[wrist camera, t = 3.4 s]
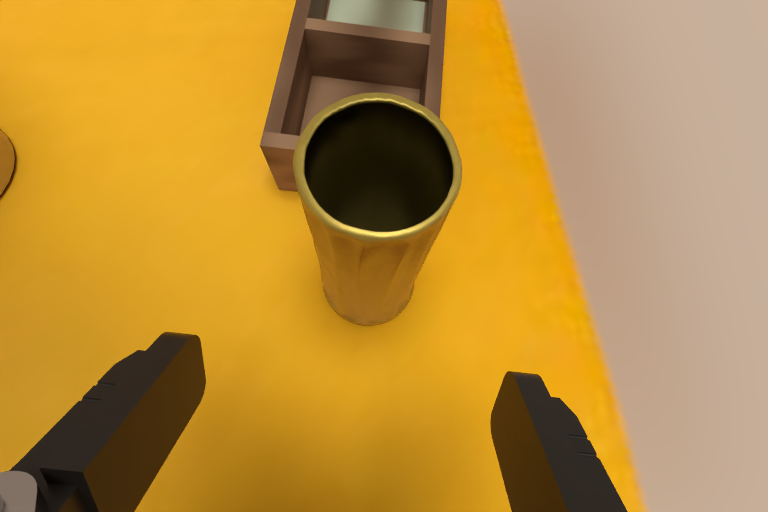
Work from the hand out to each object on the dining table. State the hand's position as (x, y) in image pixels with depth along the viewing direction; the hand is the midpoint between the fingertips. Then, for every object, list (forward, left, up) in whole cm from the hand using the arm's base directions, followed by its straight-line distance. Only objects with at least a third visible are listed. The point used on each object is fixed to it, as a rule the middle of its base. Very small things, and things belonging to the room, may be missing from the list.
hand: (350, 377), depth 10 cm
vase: (0, +6, -14) cm, 15 cm away
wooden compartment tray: (-2, +22, -14) cm, 26 cm away
